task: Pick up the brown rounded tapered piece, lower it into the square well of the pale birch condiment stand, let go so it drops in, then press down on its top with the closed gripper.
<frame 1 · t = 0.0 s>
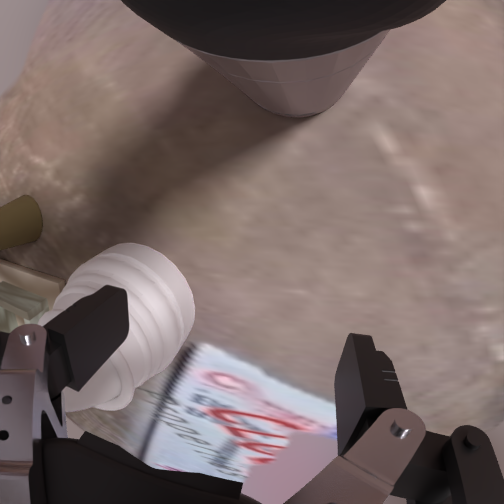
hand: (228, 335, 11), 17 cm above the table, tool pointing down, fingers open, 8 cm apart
condiment stand: (35, 317, 37), on the table
brown rounded tapered piece: (29, 218, 32), on the table
honey pot: (140, 299, 32), on the table
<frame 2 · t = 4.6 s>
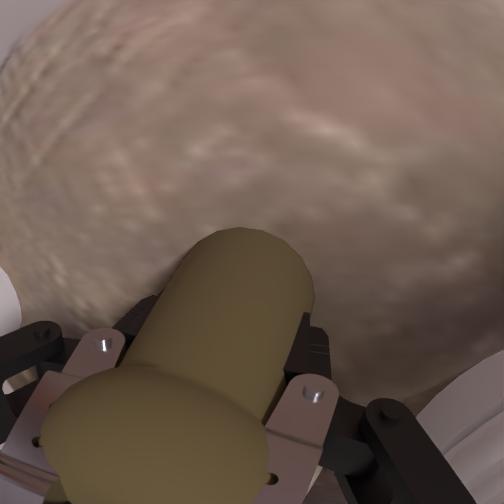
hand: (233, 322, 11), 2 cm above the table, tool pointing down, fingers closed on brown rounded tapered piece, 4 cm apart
brown rounded tapered piece: (244, 294, 14), on the table, touching gripper
honey pot: (484, 420, 14), on the table
white cup: (0, 296, 17), on the table
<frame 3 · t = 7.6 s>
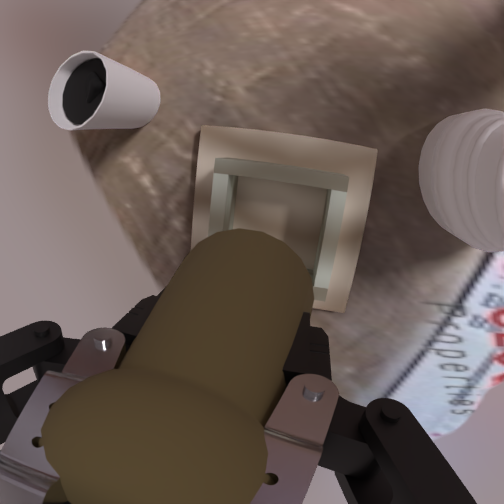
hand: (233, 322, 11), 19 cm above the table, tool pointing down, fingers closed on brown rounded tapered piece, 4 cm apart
condiment stand: (278, 218, 30), on the table
brown rounded tapered piece: (244, 295, 14), point 17 cm above the table, touching gripper
honey pot: (471, 175, 25), on the table
white cup: (137, 102, 28), on the table
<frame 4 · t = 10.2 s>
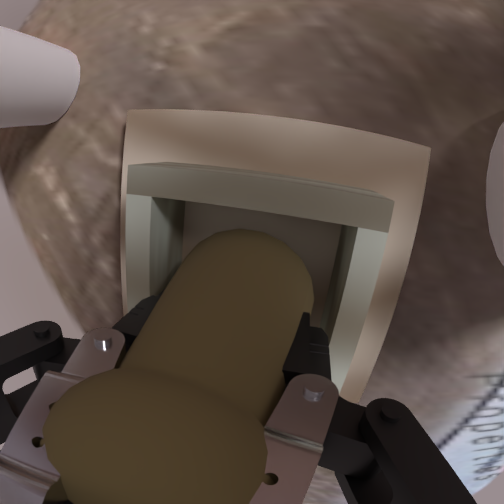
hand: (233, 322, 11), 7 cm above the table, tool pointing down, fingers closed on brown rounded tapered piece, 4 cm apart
condiment stand: (257, 264, 18), on the table
brown rounded tapered piece: (244, 295, 14), point 4 cm above the table, touching gripper
white cup: (53, 86, 16), on the table
when the fingers open (7 cm above the table, at t = 10.7 s): brown rounded tapered piece drops 3 cm, resting on condiment stand.
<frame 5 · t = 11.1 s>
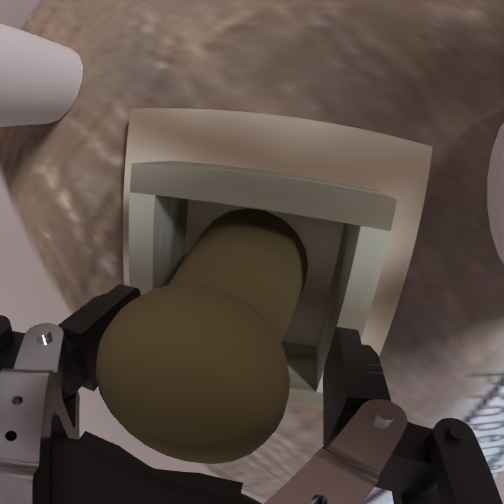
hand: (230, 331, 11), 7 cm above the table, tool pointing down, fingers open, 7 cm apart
condiment stand: (259, 263, 18), on the table
brown rounded tapered piece: (250, 264, 17), point 1 cm above the table, touching condiment stand
white cup: (55, 85, 16), on the table
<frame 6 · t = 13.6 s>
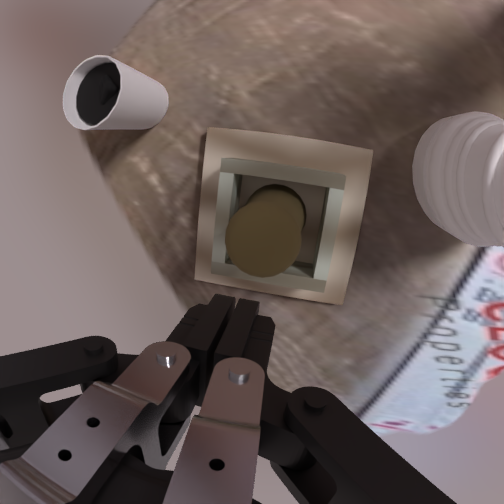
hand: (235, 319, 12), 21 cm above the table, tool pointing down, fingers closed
condiment stand: (279, 215, 31), on the table
brown rounded tapered piece: (275, 214, 30), point 1 cm above the table, touching condiment stand
honey pot: (463, 175, 27), on the table
white cup: (145, 104, 30), on the table
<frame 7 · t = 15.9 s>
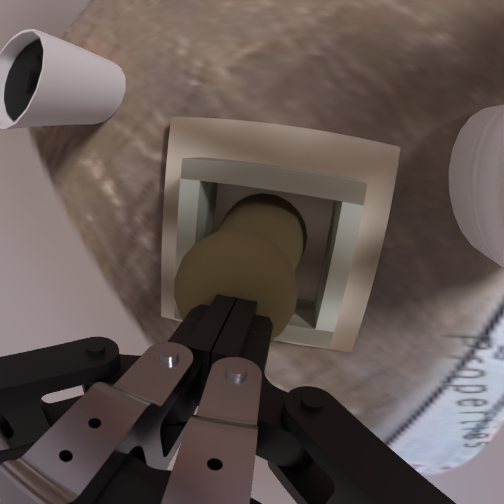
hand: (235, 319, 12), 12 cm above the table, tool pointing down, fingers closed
condiment stand: (270, 236, 23), on the table
brown rounded tapered piece: (264, 235, 22), point 1 cm above the table, touching condiment stand, gripper
white cup: (99, 92, 22), on the table
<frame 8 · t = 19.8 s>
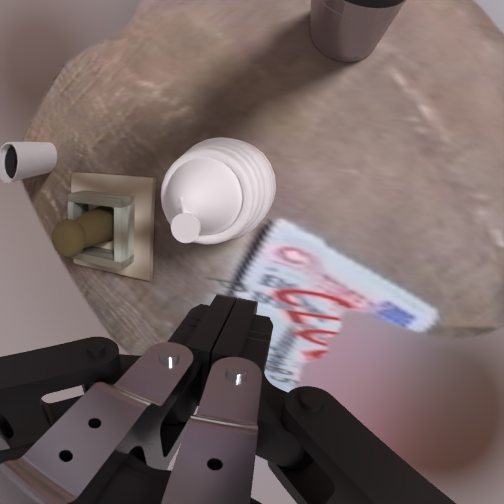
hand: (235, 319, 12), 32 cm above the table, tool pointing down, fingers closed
condiment stand: (111, 223, 47), on the table
brown rounded tapered piece: (106, 223, 46), point 1 cm above the table, touching condiment stand
honey pot: (229, 185, 43), on the table
white cup: (47, 157, 46), on the table
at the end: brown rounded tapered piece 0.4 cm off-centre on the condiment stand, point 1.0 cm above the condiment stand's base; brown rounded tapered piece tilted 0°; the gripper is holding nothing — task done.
